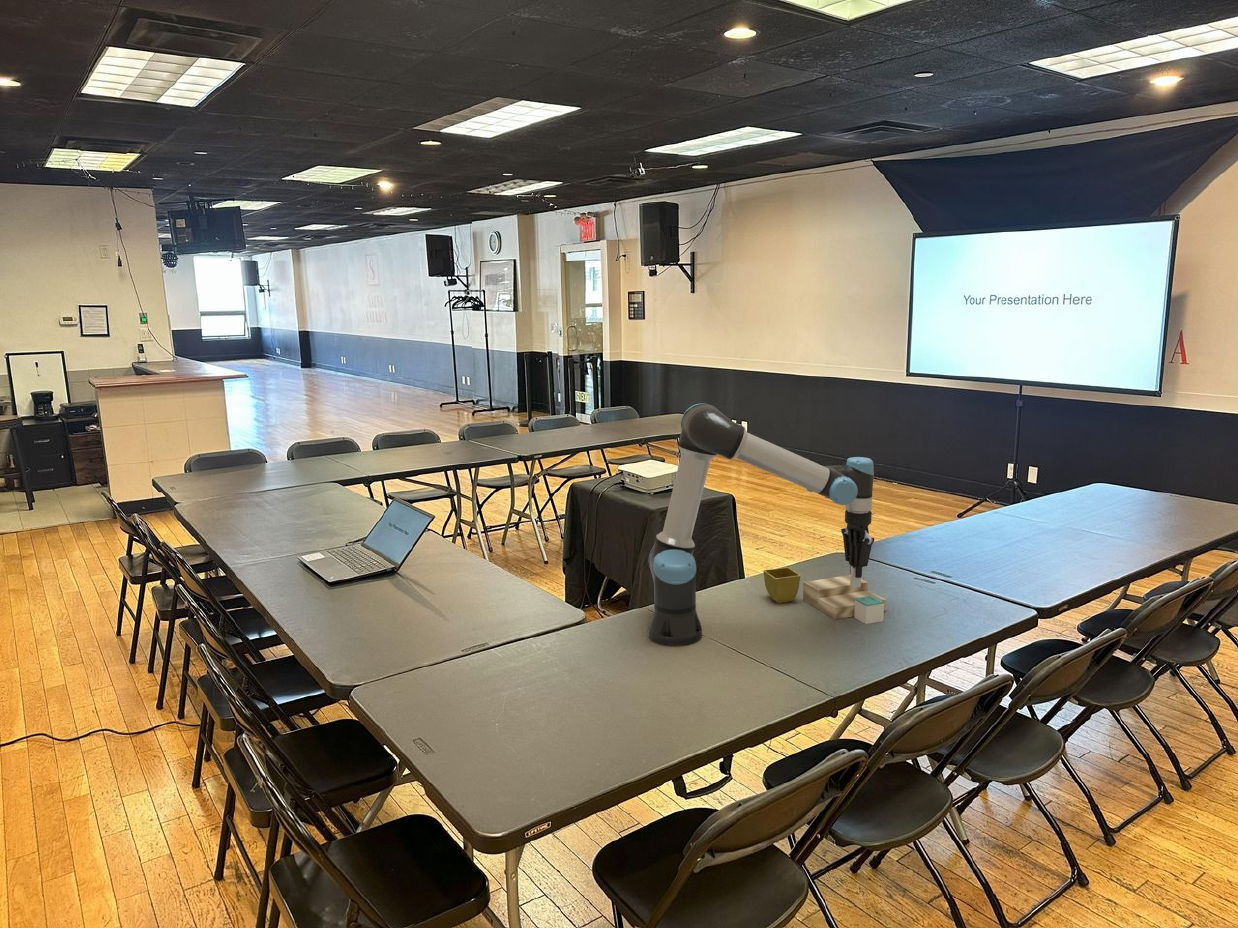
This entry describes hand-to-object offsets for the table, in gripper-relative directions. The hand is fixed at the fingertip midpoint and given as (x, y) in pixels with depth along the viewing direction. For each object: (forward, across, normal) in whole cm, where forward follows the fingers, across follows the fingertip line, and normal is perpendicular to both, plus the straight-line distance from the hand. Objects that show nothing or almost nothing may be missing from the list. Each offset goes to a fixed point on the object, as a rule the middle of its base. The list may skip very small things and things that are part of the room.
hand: (855, 586), depth 238 cm
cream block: (+2, -7, 0) cm, 7 cm away
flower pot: (+8, +17, +15) cm, 24 cm away
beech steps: (+8, +6, 0) cm, 10 cm away
